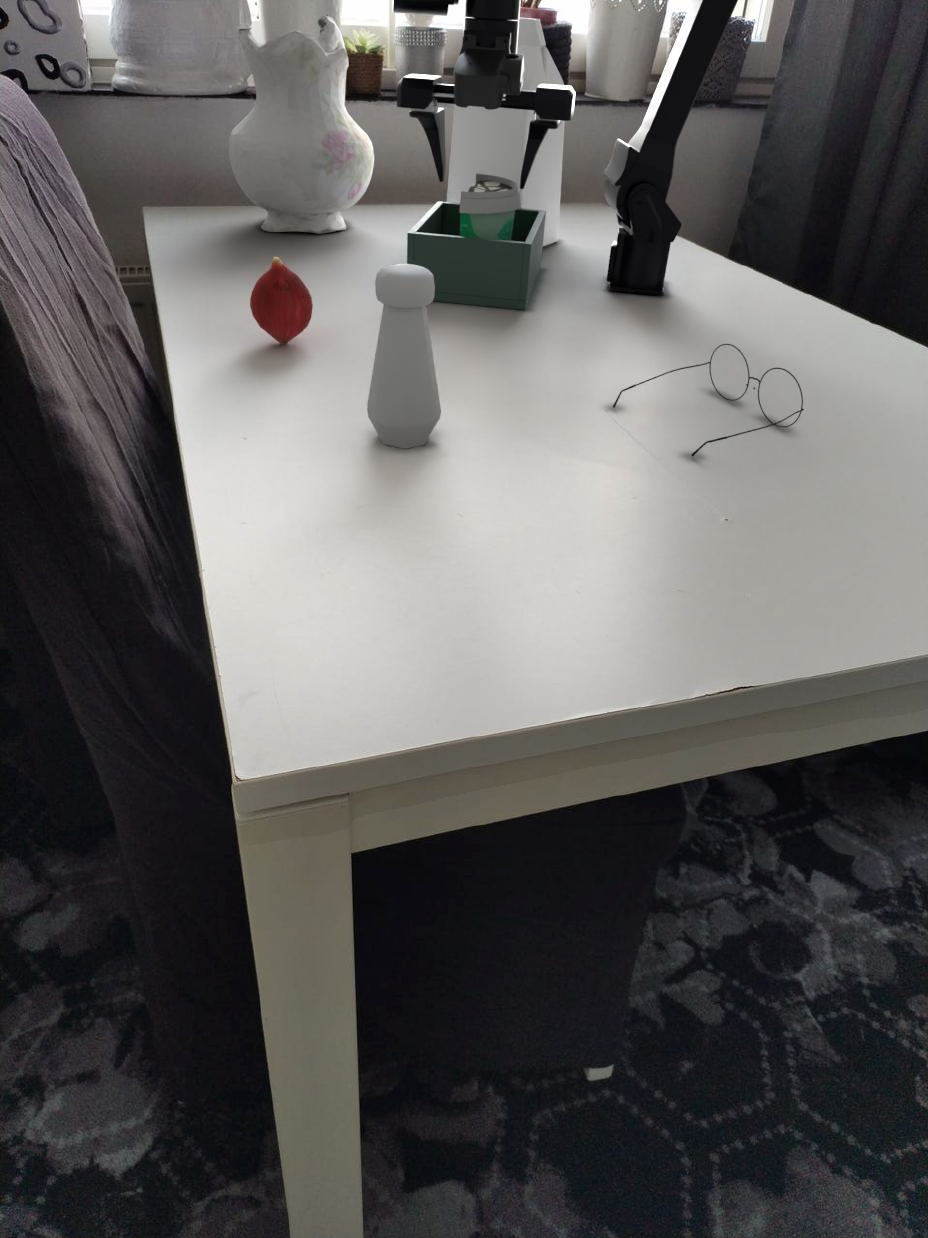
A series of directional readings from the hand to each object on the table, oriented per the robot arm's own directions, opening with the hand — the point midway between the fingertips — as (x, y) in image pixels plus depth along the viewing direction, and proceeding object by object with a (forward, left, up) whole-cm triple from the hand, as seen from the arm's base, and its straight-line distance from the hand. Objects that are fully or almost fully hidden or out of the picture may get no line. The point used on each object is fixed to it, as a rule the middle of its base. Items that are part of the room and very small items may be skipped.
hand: (481, 184), depth 100 cm
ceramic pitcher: (+28, -22, -11) cm, 37 cm away
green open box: (0, 0, -11) cm, 11 cm away
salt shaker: (-1, +45, -11) cm, 46 cm away
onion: (+15, +27, -11) cm, 33 cm away
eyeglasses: (-25, +35, -11) cm, 44 cm away
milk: (0, -22, -11) cm, 25 cm away
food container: (-2, 0, -10) cm, 10 cm away
